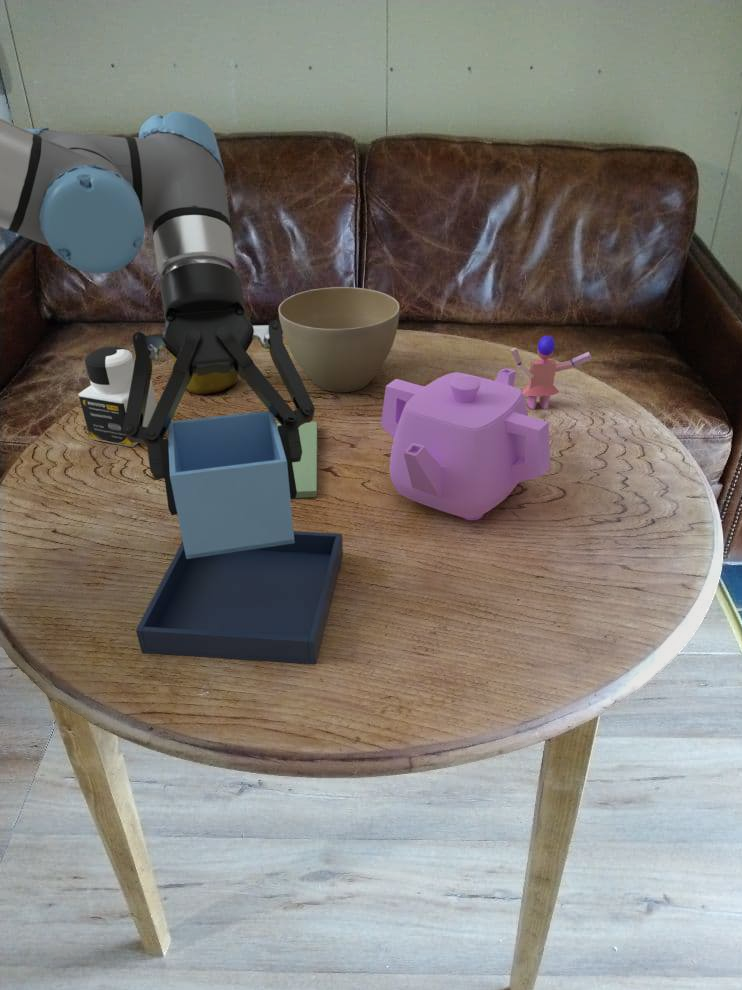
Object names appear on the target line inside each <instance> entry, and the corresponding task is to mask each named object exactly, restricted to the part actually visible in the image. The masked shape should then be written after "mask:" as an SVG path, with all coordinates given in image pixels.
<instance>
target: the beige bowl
mask: <svg viewBox="0 0 742 990" xmlns="http://www.w3.org/2000/svg"><path fill="white" fill-rule="evenodd" d="M400 309H401V308H400V303H399V302H398V300H397V299H395V298H394V297H392V296H391V295H389V294H387V293H384V292H382V291H378V290H374V289H370V288H364V287H353V286H351V287H350V286H331V287H322V288H316V289H315V288H314V289H309V290H304V291H301V292H297V293H296V294H293V295H290V296H288V297H287V298H285V299H284V300H282V302H281V303H280V304H279V306H278V309H277V311H278V318H279V322H280V323H281V327H282V335H283V338H284V340H285V342H286V344H287V348H288V349H289V352H290V353H291V355H292V356H293V359H294V360H295V362H296V363H297V365H298V366H299V368H300V369H301V370H302V372H304V374H305V375H306V376H307V377H308V378H309V379H310V380H311V381H312V382H313V383H314V384H315V385H316V386H317V387H319V388H320V389H322V390H325V391H328V392H332V393H333V392H334V393H348V392H349V393H351V392H355V391H359V390H360V389H363V388H364V387H366V386H367V385H368V384H370V382H372V381H373V379H374V378H375V377H376V375H377V374H378V373H379V371H380V370H381V369H382V367H383V365H384V363H385V362H386V361H387V358H388V357H389V354H390V352H391V350H392V348H393V345H394V342H395V339H396V336H397V333H398V332H397V331H398V326H399V321H400Z"/></svg>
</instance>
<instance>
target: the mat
mask: <svg viewBox="0 0 742 990" xmlns="http://www.w3.org/2000/svg"><path fill="white" fill-rule="evenodd" d="M276 424H277V427H278V426H279V425H281V424H280V423H279V422H278V423H277V422H276ZM298 429H299V435H300V441H301V447H302V456H301V460H300V462H292V465H293V471H294V477H295V483H296V490H297V494H296V498H295V499H303V498H304V499H309V498H318V422H317V421H311V422H308V423H304V424H302V425H301V426H300V427H299V428H298Z"/></svg>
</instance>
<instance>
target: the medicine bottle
mask: <svg viewBox="0 0 742 990" xmlns="http://www.w3.org/2000/svg"><path fill="white" fill-rule="evenodd" d="M84 363H85V368H86V371H87V375H88V379H89V382H90V385H89V386H87V387H86V388H85V389H83V390H81V391H80V392H79V393H78V398H79V403H80V405H81V410H82V414H83V417H84V421H85V424H86V429H87V433H88V436H89V438H90V440H93V441H98V442H102V443H103V442H104V443H108V444H114V445H119V446H124V447H129V448H134V447H135V446H137V445H138V444H139V443H138V442H136V443H132V442H130V441H129V440H128V438H127V437H126V435H125V433H124V431H123V426H124V420H125V415H126V409H127V404H128V398H129V392H130V387H131V381H132V375H133V370H134V364H135V361H134V358H133V354H132V352H131V351H129V350H128V349H127V348H123V347H118V346H105V347H100V348H97V349H95V350H93V351H91V352H90V353H88V354H87V355H86V357H85V358H84ZM157 404H158V402H157V398H156V393H155V390H154V384H153V381H152V380H151V381H150V386H149V392H148V398H147V404H146V410H145V415H144V421H143V427H147V426H148V424H149V422H150V420H151V417H152V415H153V413H154V411H155V409H156V406H157Z"/></svg>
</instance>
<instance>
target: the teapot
mask: <svg viewBox="0 0 742 990" xmlns="http://www.w3.org/2000/svg"><path fill="white" fill-rule="evenodd" d="M516 374H517V370H514V369H510V368H506V367H505V368H503V369H501V370H499V371H498V374H497V376H496V377H495V379H494V380H492V379H488V378H485V377H481V376H477V375H473V374H469V373H464V372H459V371H455V372H450V373H447V374H444V375H442V376H440V377H438V378H436V379H434V380H433V381H431V382H429V383H428V384H426V385H425V386H424V385H421V384H417V383H414V382H409V381H405V380H403V379H398V378H395V379H393V380H392V381H391V382H390V383H388V384H387V385H385V389H384V390H385V391H384V397H383V403H382V411H381V412H382V413H381V418H380V419H381V420H380V421H381V422H380V427H381V428H382V429H383V430H384V431H386V433H388V434H389V435H390V437H392V438H393V441H392V446H391V452H390V460H389V475H390V480H391V482H392V485H393V486H394V489H395V490H396V492H397V493H398V494H399V495H401V496H402V497H405V498H407V499H408V500H412V502H413V501H414V502H415V503H418V504H421V505H424V506H426V507H429V508H431V509H435V510H437V511H440V512H443V513H447V514H450V515H452V516H457V517H459V518H460V517H461V518H462V519H464V520H467V521H477V520H479V519H481V518H483V516H484V515H485V514H486V513H488V512H489V511H491V510H492V509H494V508H495V507H497V506H498V505H500V503H502V502H503V501H505V500H506V499H507V498H508V497H509V495H510V494H511V493H513V491H514V489H515V488H516V487H517V485H518V484H519V483H521V482H525V481H529V480H534V479H537V478H541V477H542V476H544V474H545V473H547V472H548V471H549V470H550V469H551V450H550V449H551V447H550V446H551V445H550V422H549V421H547V420H543V419H539V418H536V417H532V416H530V415H529V412H528V406H527V402H526V399H525V395H523V392H522V389H521V388H519V387H515V381H516Z"/></svg>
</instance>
